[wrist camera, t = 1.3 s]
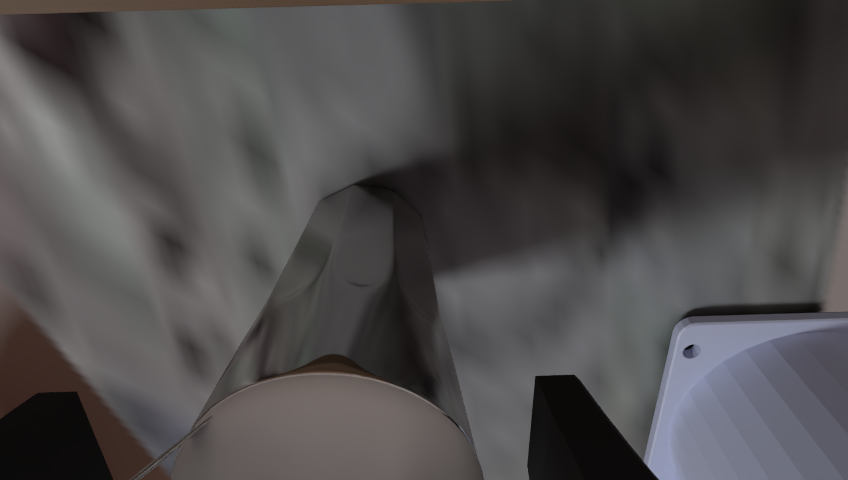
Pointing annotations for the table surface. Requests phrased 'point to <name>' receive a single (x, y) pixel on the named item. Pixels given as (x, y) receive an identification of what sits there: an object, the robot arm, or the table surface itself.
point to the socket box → (176, 4)
